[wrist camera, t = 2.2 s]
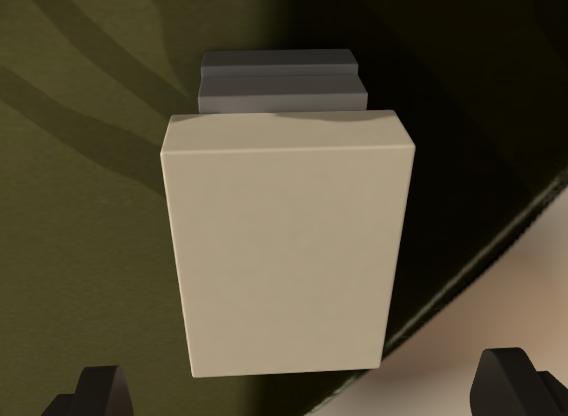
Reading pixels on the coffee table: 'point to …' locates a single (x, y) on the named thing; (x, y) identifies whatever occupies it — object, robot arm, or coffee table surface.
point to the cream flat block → (286, 236)
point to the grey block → (280, 81)
